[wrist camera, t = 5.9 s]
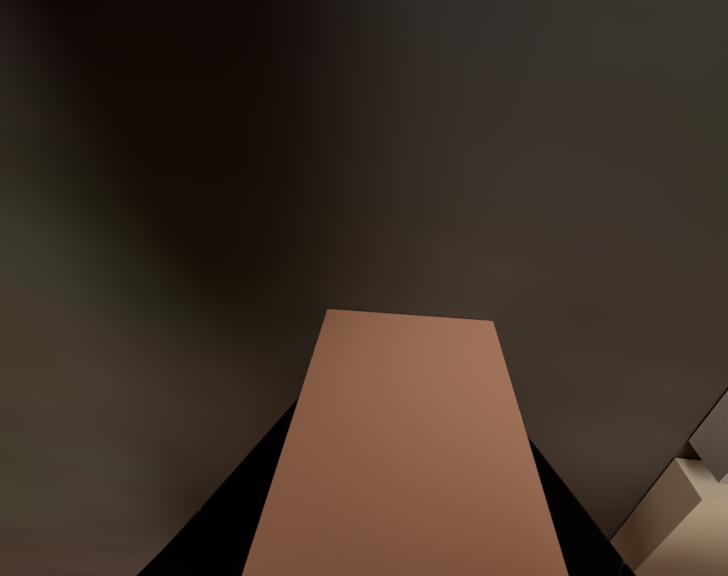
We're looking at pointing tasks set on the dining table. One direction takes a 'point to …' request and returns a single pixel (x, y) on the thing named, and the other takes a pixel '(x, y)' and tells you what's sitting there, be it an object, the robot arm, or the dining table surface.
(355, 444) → the salmon orange block
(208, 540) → the robot arm
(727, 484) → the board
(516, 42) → the dining table surface
